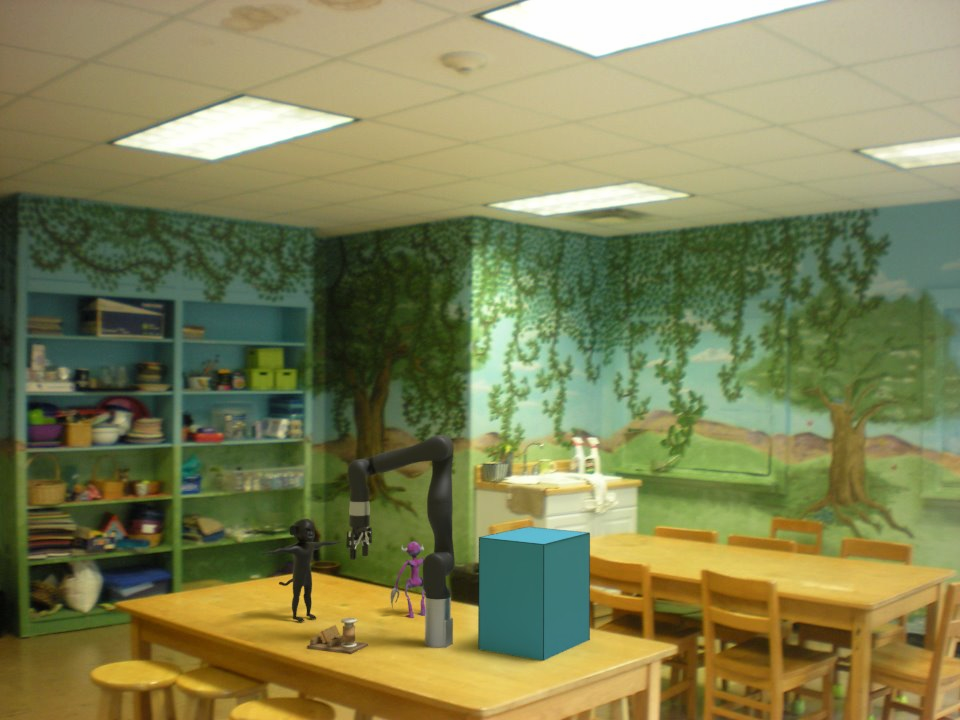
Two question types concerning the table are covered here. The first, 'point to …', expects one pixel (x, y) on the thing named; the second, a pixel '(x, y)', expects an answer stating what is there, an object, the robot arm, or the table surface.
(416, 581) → the toy
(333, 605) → the table surface
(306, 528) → the monkey
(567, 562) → the box
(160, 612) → the table surface
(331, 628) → the tan wooden block
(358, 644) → the board
